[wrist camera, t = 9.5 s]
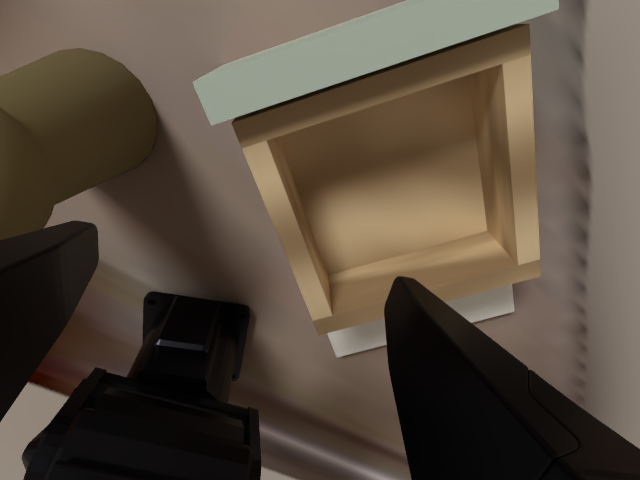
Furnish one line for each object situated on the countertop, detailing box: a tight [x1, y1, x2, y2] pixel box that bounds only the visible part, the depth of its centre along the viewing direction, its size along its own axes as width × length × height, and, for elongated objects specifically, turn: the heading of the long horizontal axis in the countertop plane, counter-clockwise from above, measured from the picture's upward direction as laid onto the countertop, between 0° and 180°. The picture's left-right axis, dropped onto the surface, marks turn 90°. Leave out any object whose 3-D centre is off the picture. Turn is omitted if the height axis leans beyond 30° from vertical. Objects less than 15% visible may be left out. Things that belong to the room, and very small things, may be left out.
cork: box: [0, 48, 157, 240], centre depth 15 cm, size 6×6×11 cm
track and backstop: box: [192, 0, 559, 357], centre depth 20 cm, size 19×12×6 cm, turn 17°
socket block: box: [232, 24, 541, 335], centre depth 19 cm, size 11×11×4 cm
